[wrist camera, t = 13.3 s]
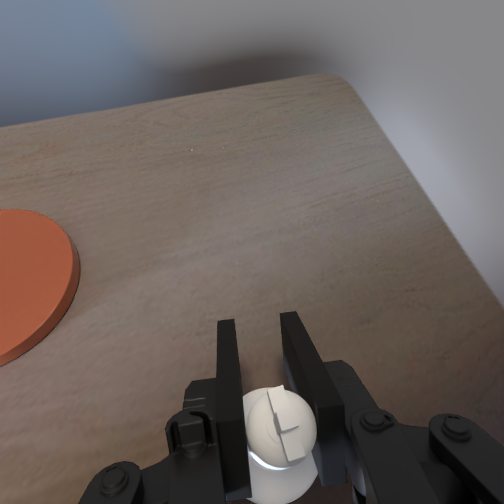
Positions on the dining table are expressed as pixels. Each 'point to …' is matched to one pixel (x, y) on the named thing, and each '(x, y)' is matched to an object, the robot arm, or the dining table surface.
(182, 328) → the dining table surface
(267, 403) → the chess piece
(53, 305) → the orange flat disc
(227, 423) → the robot arm
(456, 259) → the dining table surface
